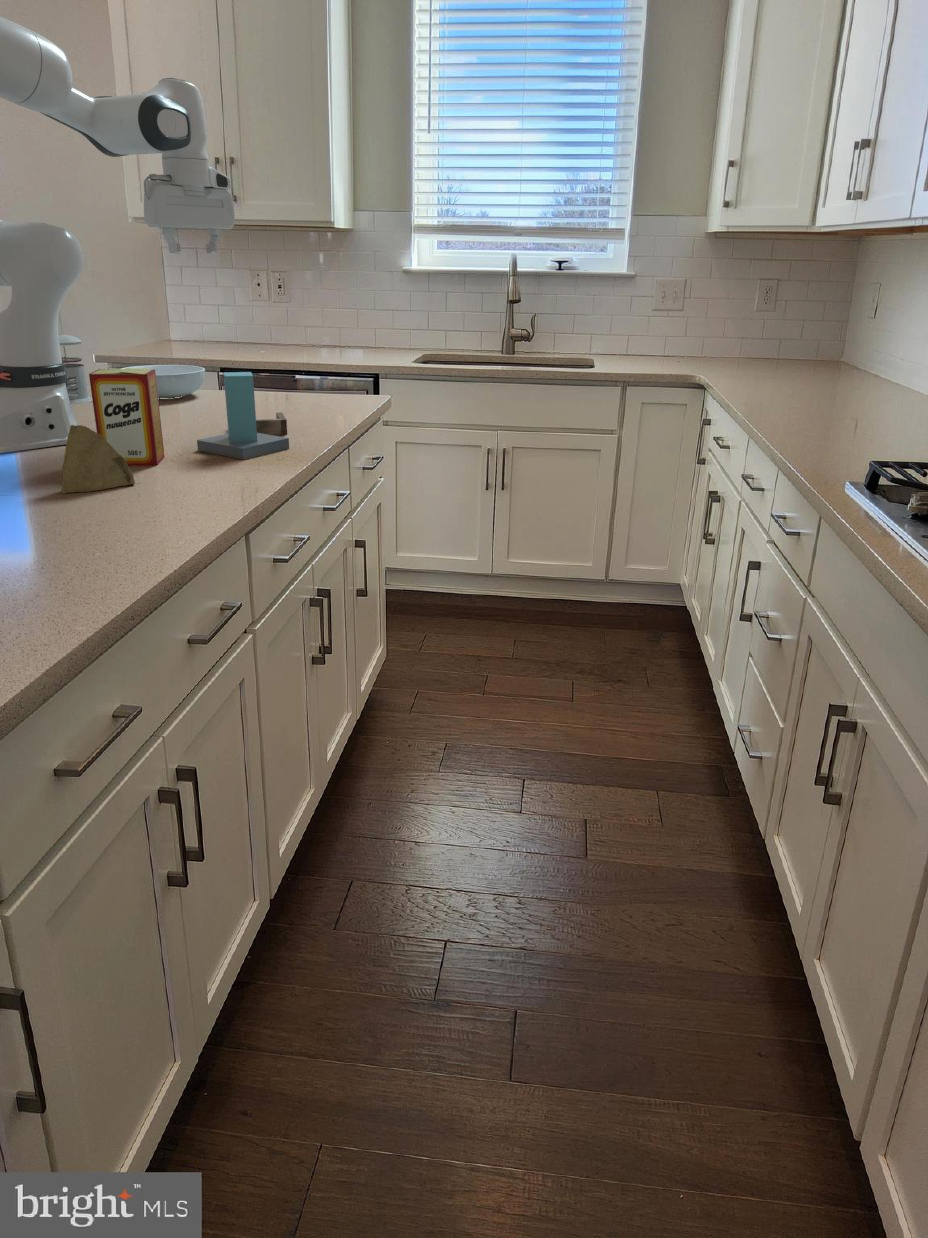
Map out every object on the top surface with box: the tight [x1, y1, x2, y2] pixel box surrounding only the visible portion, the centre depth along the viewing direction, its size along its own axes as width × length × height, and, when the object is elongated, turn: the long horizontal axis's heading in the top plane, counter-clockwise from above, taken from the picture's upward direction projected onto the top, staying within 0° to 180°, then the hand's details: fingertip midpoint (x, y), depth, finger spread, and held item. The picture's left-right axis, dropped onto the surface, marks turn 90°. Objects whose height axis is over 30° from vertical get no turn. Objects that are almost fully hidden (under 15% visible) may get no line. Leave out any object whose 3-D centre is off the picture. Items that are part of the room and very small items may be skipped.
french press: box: [58, 310, 93, 405], centre depth 214 cm, size 10×12×25 cm
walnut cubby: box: [256, 411, 288, 436], centre depth 188 cm, size 10×9×3 cm
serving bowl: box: [120, 364, 206, 399], centre depth 225 cm, size 21×21×7 cm
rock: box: [61, 424, 136, 495], centre depth 143 cm, size 11×9×10 cm
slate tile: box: [196, 433, 290, 460], centre depth 172 cm, size 12×12×2 cm
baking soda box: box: [88, 367, 165, 467], centre depth 159 cm, size 10×6×16 cm
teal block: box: [223, 371, 257, 442], centre depth 169 cm, size 5×5×12 cm
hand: (193, 253), depth 181 cm, fingers open, 8 cm apart
